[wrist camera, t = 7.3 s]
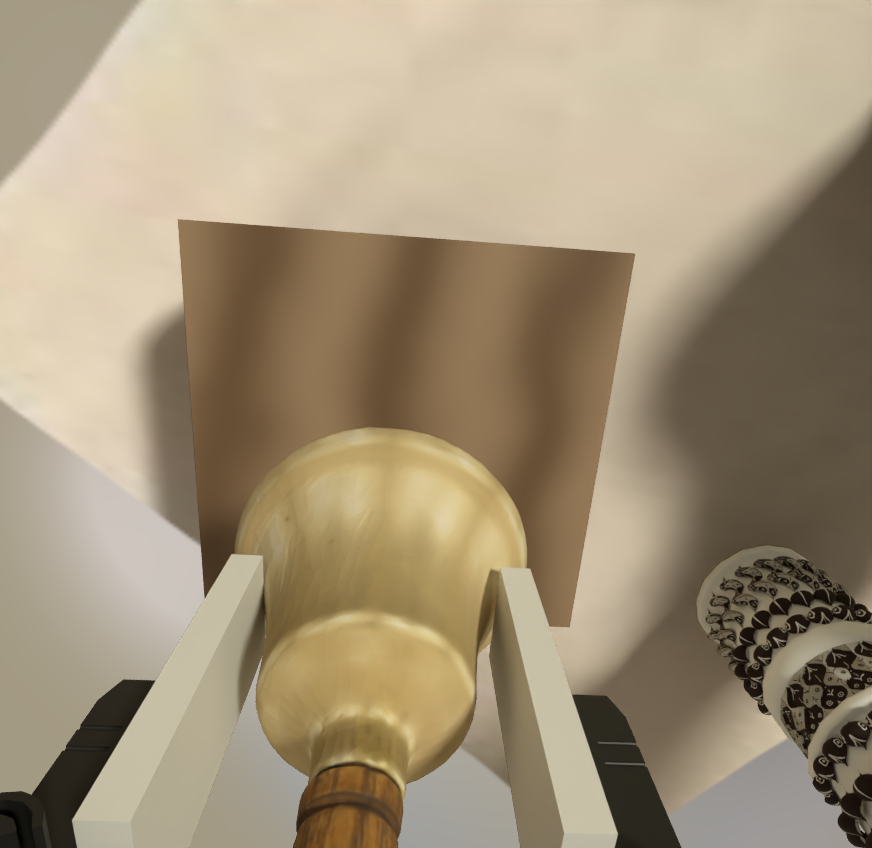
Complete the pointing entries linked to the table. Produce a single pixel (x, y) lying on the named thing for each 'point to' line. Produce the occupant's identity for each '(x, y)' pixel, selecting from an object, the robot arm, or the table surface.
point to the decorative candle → (801, 666)
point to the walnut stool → (403, 366)
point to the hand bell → (374, 617)
